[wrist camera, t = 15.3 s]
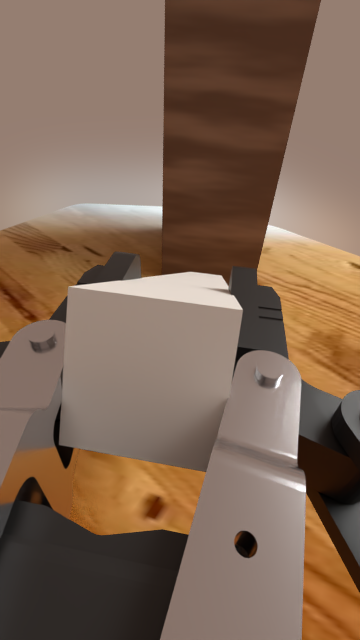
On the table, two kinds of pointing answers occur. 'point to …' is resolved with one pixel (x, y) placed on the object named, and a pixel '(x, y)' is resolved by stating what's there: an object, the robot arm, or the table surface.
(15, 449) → the robot arm
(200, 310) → the off-white bar
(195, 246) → the dark wooden plinth
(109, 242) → the table surface
